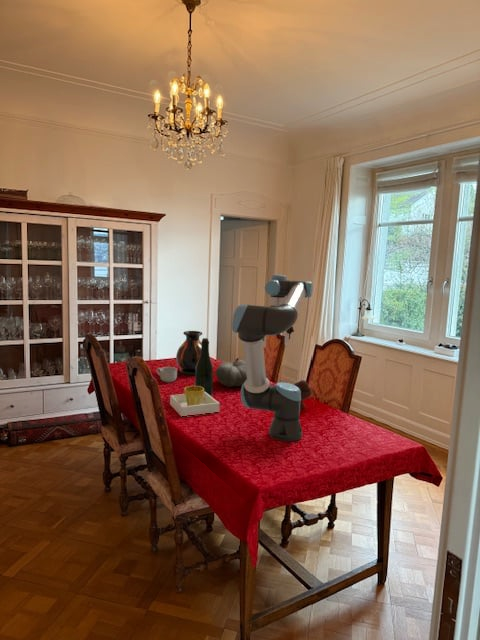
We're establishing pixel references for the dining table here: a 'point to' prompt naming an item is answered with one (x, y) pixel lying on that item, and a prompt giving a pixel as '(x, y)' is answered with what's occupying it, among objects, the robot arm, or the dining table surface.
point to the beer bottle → (204, 369)
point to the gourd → (232, 373)
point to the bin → (206, 405)
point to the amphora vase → (189, 353)
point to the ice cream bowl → (303, 391)
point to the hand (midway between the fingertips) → (275, 346)
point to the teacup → (167, 373)
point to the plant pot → (193, 395)
